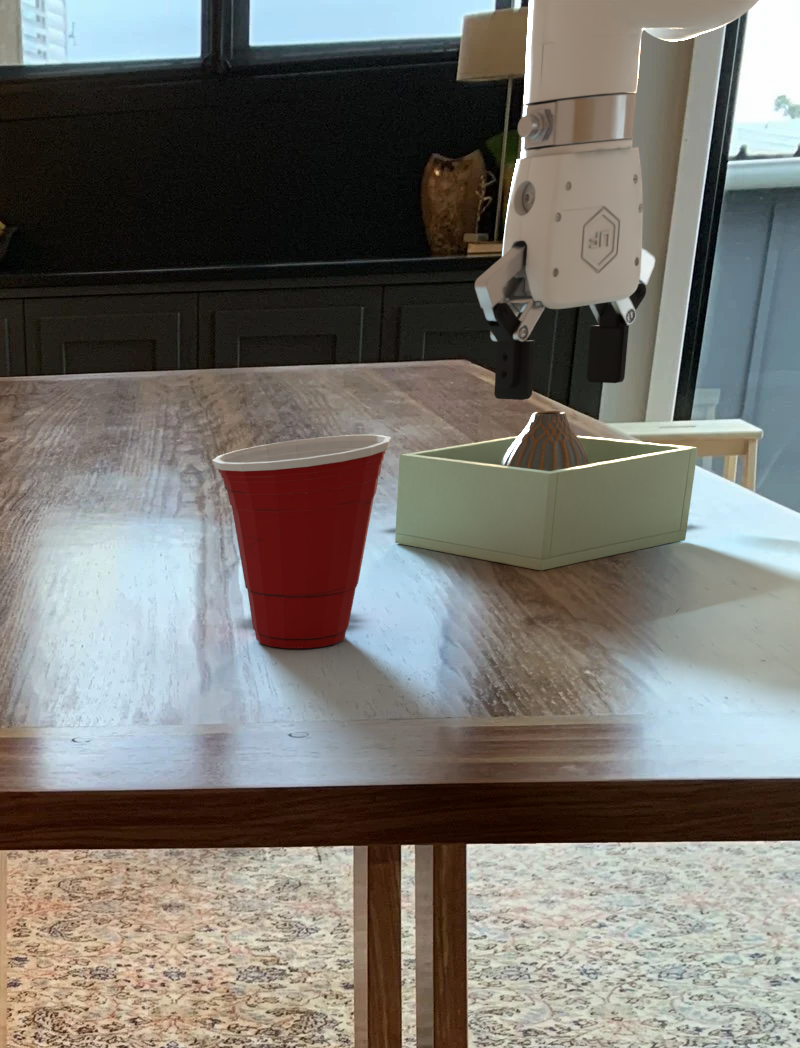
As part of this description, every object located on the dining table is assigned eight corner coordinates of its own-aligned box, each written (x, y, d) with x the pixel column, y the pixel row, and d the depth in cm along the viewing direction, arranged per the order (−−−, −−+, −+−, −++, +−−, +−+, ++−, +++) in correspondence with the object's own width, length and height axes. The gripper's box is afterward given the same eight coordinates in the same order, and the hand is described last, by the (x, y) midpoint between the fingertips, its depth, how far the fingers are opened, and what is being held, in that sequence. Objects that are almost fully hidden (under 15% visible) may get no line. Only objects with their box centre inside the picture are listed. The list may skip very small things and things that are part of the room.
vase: (550, 519, 124) (560, 404, 120) (602, 532, 118) (616, 412, 114) (475, 529, 122) (484, 413, 118) (525, 542, 117) (536, 420, 113)
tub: (533, 516, 130) (541, 431, 127) (685, 540, 118) (698, 447, 115) (394, 543, 124) (399, 454, 120) (540, 571, 111) (549, 473, 108)
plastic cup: (247, 614, 105) (248, 429, 99) (402, 622, 100) (413, 429, 95) (187, 653, 97) (184, 454, 91) (353, 665, 92) (361, 455, 86)
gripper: (528, 132, 101) (513, 407, 109) (705, 118, 108) (678, 377, 116) (447, 143, 107) (439, 403, 115) (620, 128, 114) (600, 375, 122)
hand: (559, 390), depth 115 cm, fingers open, 9 cm apart
